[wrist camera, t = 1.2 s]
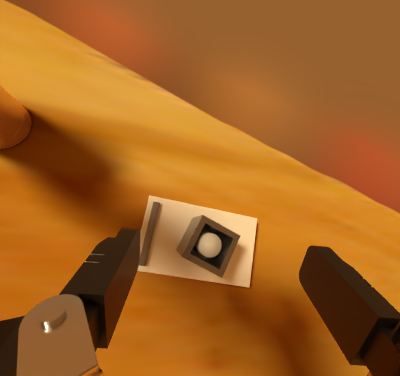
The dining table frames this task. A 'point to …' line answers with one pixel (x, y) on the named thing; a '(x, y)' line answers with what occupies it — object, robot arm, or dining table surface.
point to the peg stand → (204, 247)
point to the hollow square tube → (226, 236)
